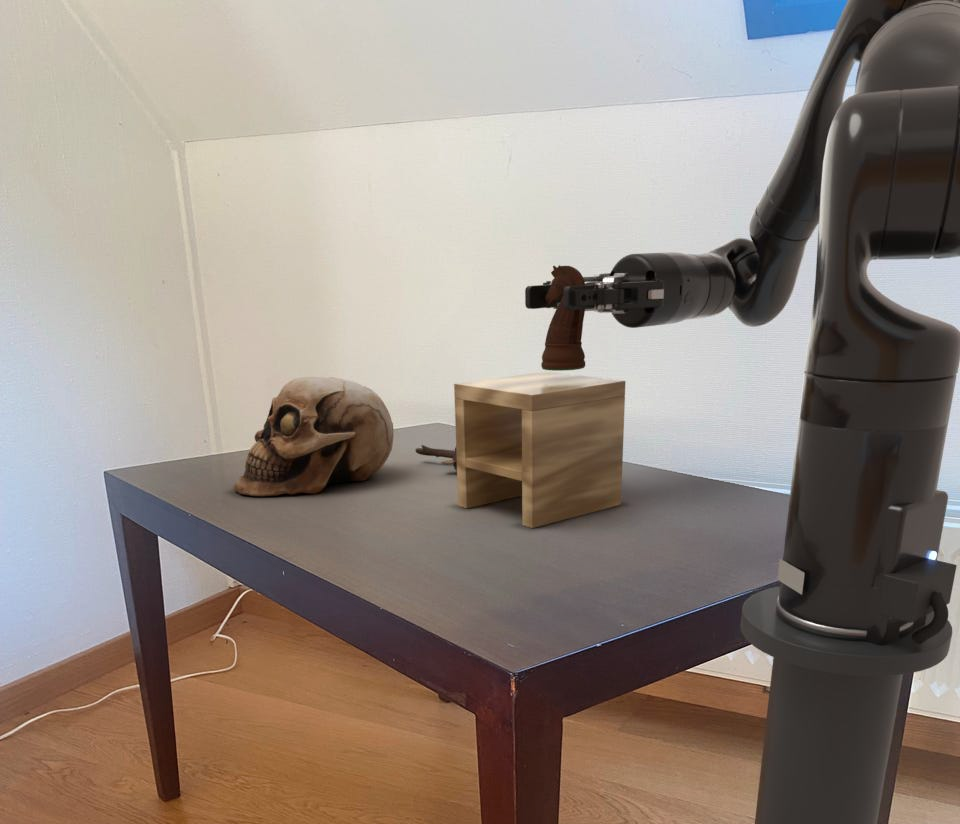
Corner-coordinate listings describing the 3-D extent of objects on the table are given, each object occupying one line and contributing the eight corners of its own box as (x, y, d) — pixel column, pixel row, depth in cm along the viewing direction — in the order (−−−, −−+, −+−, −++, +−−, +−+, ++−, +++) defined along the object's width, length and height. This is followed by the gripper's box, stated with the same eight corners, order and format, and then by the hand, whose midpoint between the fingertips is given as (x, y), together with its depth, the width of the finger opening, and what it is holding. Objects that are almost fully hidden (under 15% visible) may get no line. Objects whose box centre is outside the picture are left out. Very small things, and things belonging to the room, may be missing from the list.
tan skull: (222, 492, 107) (217, 373, 103) (302, 476, 122) (301, 372, 118) (339, 507, 102) (339, 383, 97) (407, 488, 117) (410, 380, 113)
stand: (621, 504, 99) (625, 380, 93) (532, 528, 91) (532, 395, 86) (545, 485, 107) (545, 371, 102) (458, 506, 100) (453, 383, 95)
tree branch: (573, 435, 119) (519, 445, 107) (571, 469, 120) (517, 481, 108) (456, 425, 128) (395, 433, 116) (456, 457, 129) (395, 467, 117)
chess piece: (559, 364, 99) (559, 264, 95) (597, 366, 96) (599, 263, 92) (532, 369, 96) (530, 266, 92) (571, 371, 93) (570, 265, 89)
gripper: (611, 253, 105) (498, 258, 95) (713, 251, 94) (599, 256, 85) (610, 322, 108) (500, 334, 98) (708, 327, 97) (597, 341, 88)
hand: (547, 298), depth 91 cm, fingers closed on chess piece, 5 cm apart
